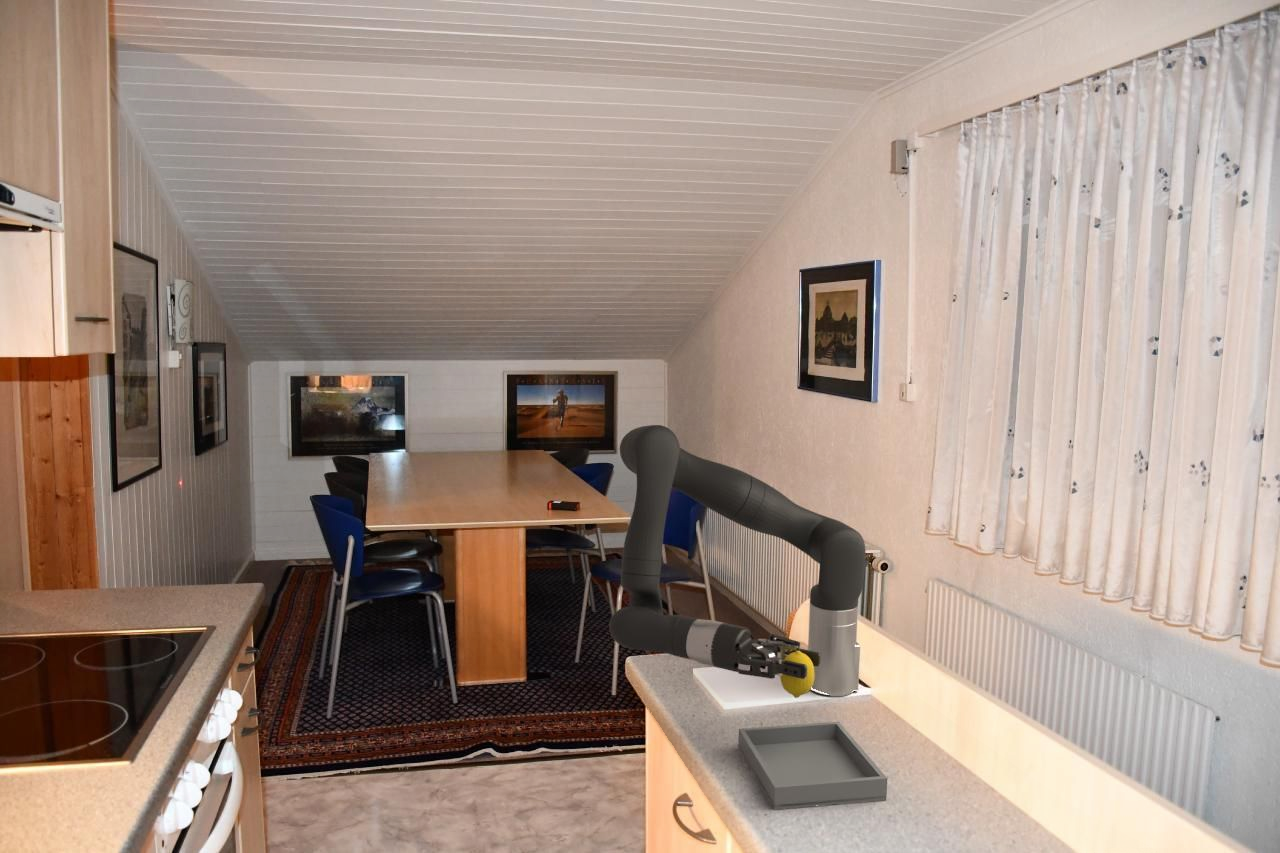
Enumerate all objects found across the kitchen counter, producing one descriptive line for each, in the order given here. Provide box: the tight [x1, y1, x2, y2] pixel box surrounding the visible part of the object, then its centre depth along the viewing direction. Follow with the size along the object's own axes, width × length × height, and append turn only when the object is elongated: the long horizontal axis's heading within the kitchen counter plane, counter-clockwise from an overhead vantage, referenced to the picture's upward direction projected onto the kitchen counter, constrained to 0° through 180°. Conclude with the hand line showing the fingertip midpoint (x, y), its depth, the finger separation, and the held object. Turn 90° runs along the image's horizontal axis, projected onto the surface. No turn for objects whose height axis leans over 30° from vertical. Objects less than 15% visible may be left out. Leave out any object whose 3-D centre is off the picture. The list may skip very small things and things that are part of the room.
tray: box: [737, 721, 888, 810], centre depth 160 cm, size 18×20×4 cm
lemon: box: [779, 651, 814, 699], centre depth 161 cm, size 6×6×8 cm
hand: (812, 665), depth 159 cm, fingers closed on lemon, 5 cm apart
